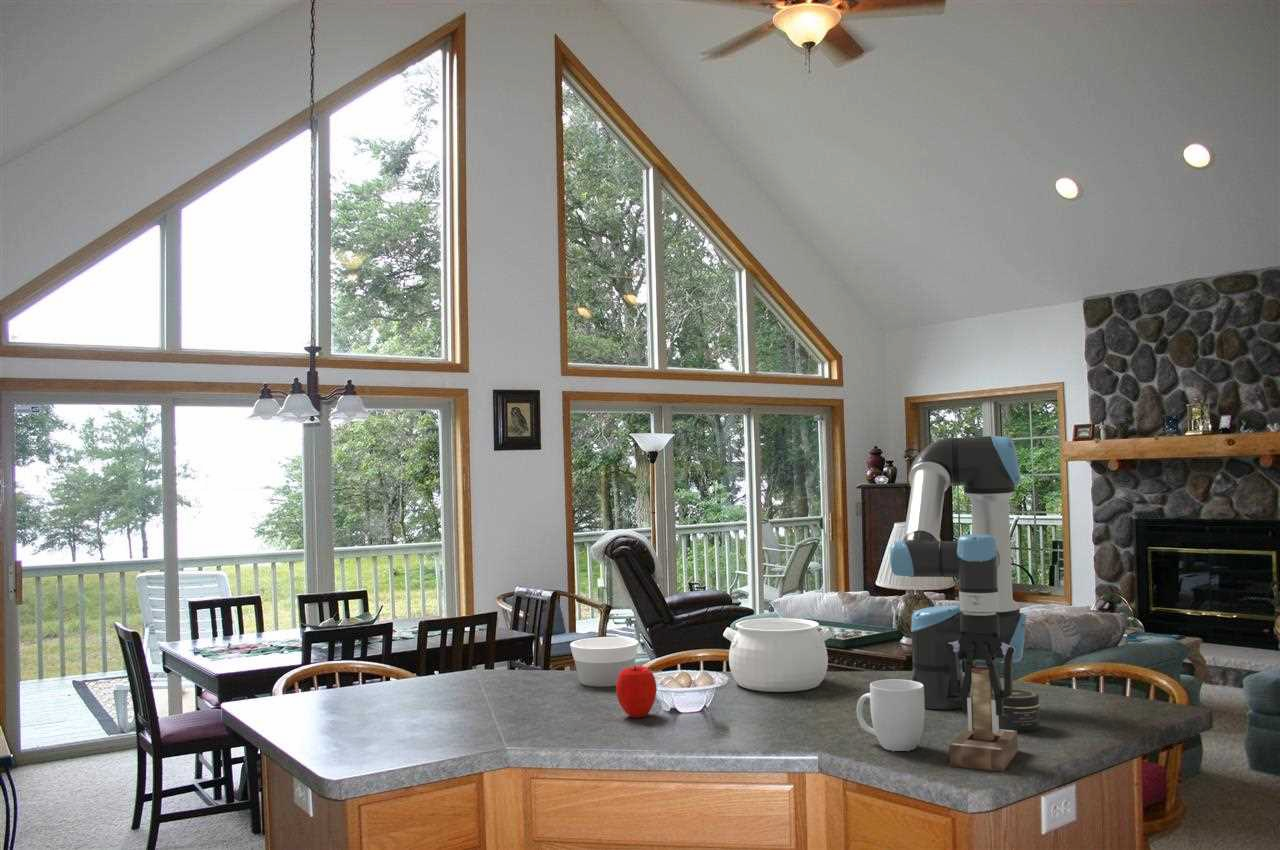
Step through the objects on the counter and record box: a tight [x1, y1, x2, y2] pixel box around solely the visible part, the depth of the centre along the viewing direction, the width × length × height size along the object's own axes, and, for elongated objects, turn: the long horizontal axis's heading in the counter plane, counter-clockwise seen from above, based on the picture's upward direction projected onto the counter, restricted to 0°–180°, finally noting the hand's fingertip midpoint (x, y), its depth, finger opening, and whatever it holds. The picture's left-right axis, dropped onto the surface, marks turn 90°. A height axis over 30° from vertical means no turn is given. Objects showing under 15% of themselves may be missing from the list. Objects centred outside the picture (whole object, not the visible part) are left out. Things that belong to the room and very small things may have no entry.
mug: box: [856, 679, 926, 752], centre depth 223 cm, size 15×11×13 cm
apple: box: [615, 664, 658, 719], centre depth 256 cm, size 10×10×12 cm
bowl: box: [569, 636, 640, 688], centre depth 297 cm, size 19×19×11 cm
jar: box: [993, 688, 1040, 733], centre depth 236 cm, size 10×10×8 cm
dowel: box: [971, 665, 994, 741], centre depth 213 cm, size 4×4×14 cm
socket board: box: [948, 725, 1019, 772], centre depth 213 cm, size 10×16×4 cm, turn 151°
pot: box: [722, 617, 833, 693], centre depth 287 cm, size 29×26×16 cm
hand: (983, 730), depth 213 cm, fingers closed on dowel, 4 cm apart
